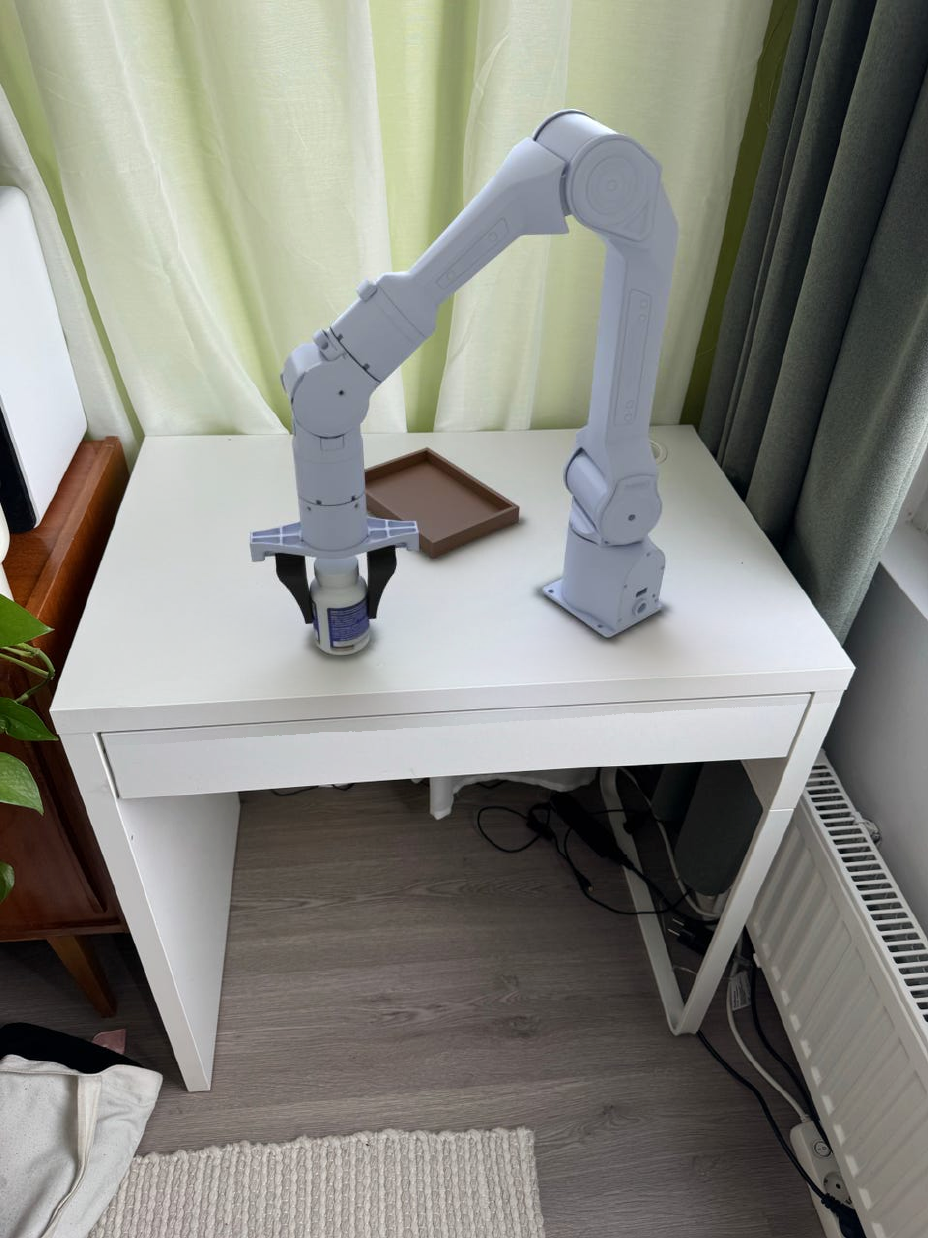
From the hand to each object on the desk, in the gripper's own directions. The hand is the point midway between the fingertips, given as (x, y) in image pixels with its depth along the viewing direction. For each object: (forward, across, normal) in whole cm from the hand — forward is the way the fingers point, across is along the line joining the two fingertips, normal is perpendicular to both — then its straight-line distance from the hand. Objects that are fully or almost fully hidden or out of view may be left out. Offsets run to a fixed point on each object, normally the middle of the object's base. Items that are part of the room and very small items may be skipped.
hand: (341, 614), depth 86 cm
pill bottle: (+3, 0, 0) cm, 3 cm away
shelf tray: (+3, -11, -23) cm, 25 cm away
